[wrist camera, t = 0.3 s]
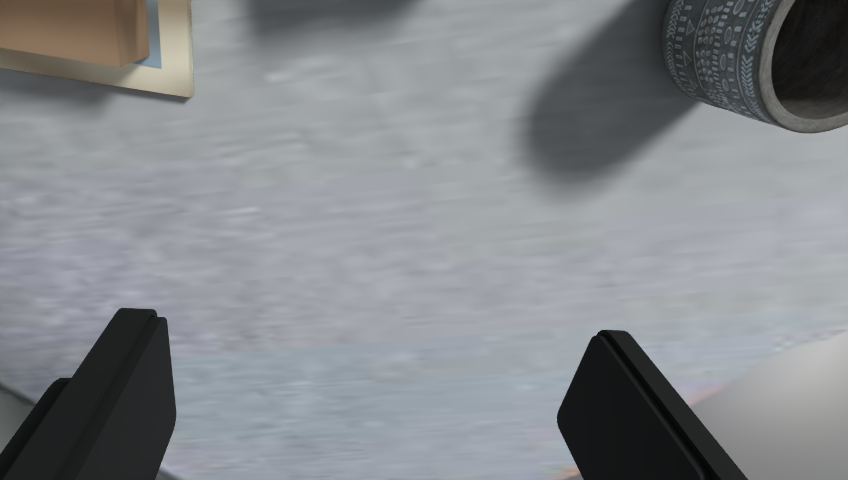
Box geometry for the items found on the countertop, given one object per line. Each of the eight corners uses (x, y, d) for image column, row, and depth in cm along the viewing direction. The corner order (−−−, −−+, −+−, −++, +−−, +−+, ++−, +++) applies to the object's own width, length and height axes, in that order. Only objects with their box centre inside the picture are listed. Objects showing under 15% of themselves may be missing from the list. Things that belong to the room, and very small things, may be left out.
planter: (665, -76, 34) (817, -103, 23) (803, -62, 36) (1005, -82, 25) (621, 92, 40) (727, 133, 29) (743, 95, 42) (885, 136, 31)
